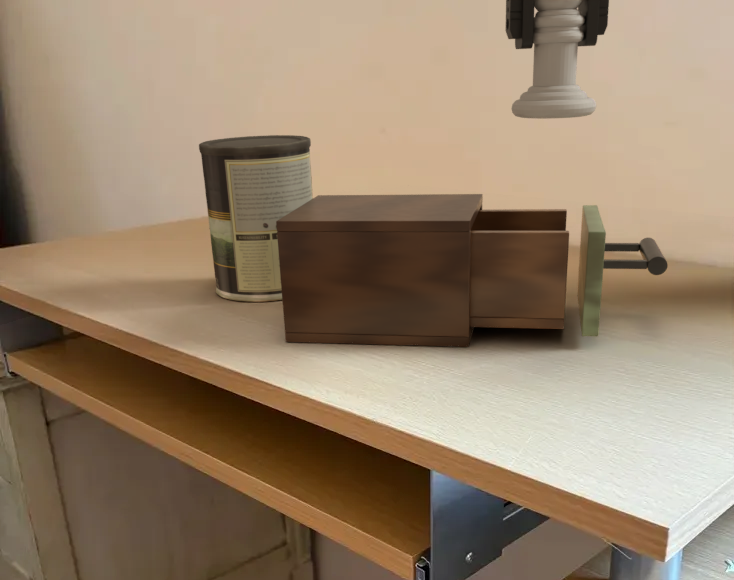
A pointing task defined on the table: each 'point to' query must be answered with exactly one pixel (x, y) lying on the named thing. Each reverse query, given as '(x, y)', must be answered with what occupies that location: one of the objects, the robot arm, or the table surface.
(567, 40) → the chess piece
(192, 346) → the table surface
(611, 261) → the drawer
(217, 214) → the coffee can
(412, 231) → the cabinet
